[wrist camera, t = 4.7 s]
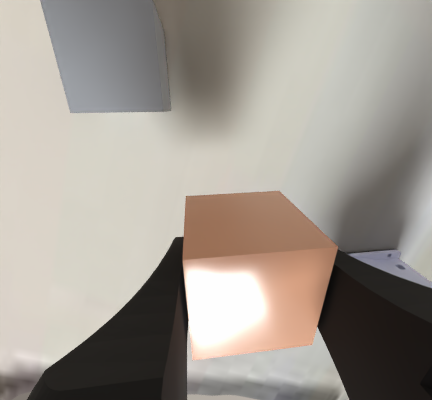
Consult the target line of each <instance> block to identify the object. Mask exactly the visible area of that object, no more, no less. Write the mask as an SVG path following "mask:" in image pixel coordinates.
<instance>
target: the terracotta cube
mask: <svg viewBox="0 0 432 400" xmlns="http://www.w3.org/2000/svg"><path fill="white" fill-rule="evenodd" d="M337 250H338V246H337V245H336V244H335V243H334V242H333V241H332V240H331V239H329V238H328V237H327V236H326V235H325V234H324V233H323V232H322V231H321V230H320V229H319V228H318V227H317V226H316V225H315V224H314V223H313V222H312V221H310V220H309V219H308V218H307V217H306V216H305V215H304V214H303V213H302V212H301V211H300V210H299V209H298V208H297V207H296V206H295V205H294V204H293V203H291V202H290V201H289V200H288V199H287V198H286V197H285V196H284V195H283V194H282V193H281V192H280V191H269V192H251V193H234V194H217V195H199V196H186V203H185V222H184V241H183V270H184V280H185V290H186V299H187V309H188V319H189V329H190V339H191V349H192V359H193V360H200V359H208V358H215V357H223V356H231V355H238V354H246V353H254V352H261V351H269V350H277V349H285V348H292V347H300V346H308V345H312V344H313V340H314V336H315V333H316V329H317V325H318V321H319V318H320V314H321V310H322V306H323V302H324V299H325V295H326V291H327V287H328V284H329V280H330V276H331V272H332V268H333V265H334V261H335V257H336V253H337Z"/></svg>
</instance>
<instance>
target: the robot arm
mask: <svg viewBox="0 0 432 400" xmlns="http://www.w3.org/2000/svg"><path fill="white" fill-rule="evenodd" d="M183 241H184V237H176V238H175V239H174V240H173V242H172V244H171V246H170V248H169V250H168V251H167V253H166V255H165V256H164V258H163V259H162V261H161V262H160V264H159V265H158V267H157V268H156V270H155V271H154V272H153V274H152V275H151V276H150V278H149V279H148V280H147V281H146V283H145V284H144V285H143V286H142V287H141V289H140V290H139V291H138V292H137V293H136V294H135V295H134V296H133V298H132V299H131V300H130V301H129V302H128V303H127V304H126V305H125V306H124V307H123V308H122V309H121V310H120V311H119V312H118V313H117V314H116V315H115V316H113V317H112V318H111V319H110V320H109V321H108V322H107V323H106V324H104V325H103V326H102V327H101V328H100V329H99V330H97V331H96V332H95V333H94V334H93V335H91V336H90V337H89V338H88V339H87V340H85V341H84V342H83V343H82V344H80V345H79V346H78V347H76V348H75V349H74V350H72V351H71V352H69V353H68V354H67V355H65V356H64V357H63V358H61V359H60V360H59V361H57V362H56V363H55V364H53V365H52V366H51V367H49V368H48V369H46V370H45V371H44V373H43V375H42V376H41V378H40V379H39V381H38V382H37V384H36V385H35V387H34V389H33V390H32V392H31V394H30V395H29V397H28V399H27V400H187V332H188V321H189V319H188V309H187V299H186V290H185V280H184V270H183ZM400 255H401V252H400V251H399V250H385V251H374V252H363V253H352V254H346V253H344V252H342V251H340V250H337V253H336V257H335V261H334V265H333V268H332V272H331V276H330V280H329V284H328V287H327V291H326V295H325V299H324V302H323V306H322V310H321V314H320V318H319V321H318V325H317V327H318V329H319V331H320V333H321V335H322V337H323V340H324V342H325V344H326V346H327V348H328V350H329V352H330V355H331V357H332V359H333V362H334V364H335V366H336V368H337V371H338V373H339V375H340V378H341V380H342V383H343V385H344V387H345V390H346V392H347V395H348V397H349V400H432V282H431V281H429V280H428V279H427V278H425V277H424V276H422V275H421V274H420V273H418V272H417V271H416V270H414V269H413V268H411V267H410V266H409V265H407V264H406V263H405V262H403V261H402V260H400V259H399V257H400Z"/></svg>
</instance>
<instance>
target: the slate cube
mask: <svg viewBox="0 0 432 400" xmlns="http://www.w3.org/2000/svg"><path fill="white" fill-rule="evenodd" d="M40 1H41V5H42V9H43V12H44V16H45V20H46V24H47V27H48V31H49V35H50V38H51V42H52V46H53V50H54V53H55V57H56V61H57V64H58V68H59V72H60V76H61V79H62V83H63V87H64V90H65V94H66V98H67V102H68V105H69V109H70V113H105V112H164V111H171V103H170V92H169V81H168V70H167V59H166V48H165V37H164V30H163V27H162V24H161V21H160V19H159V16H158V13H157V10H156V7H155V4H154V2H153V0H40Z"/></svg>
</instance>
